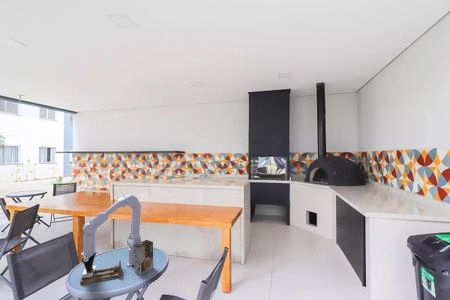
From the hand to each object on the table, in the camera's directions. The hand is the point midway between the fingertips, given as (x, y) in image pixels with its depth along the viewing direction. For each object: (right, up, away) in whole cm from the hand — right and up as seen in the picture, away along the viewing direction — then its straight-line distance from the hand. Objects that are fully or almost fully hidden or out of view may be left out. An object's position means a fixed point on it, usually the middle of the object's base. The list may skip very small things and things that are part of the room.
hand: (89, 268), depth 120 cm
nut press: (+6, -5, +2) cm, 8 cm away
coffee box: (+28, -5, +8) cm, 30 cm away
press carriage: (0, -3, 0) cm, 3 cm away
